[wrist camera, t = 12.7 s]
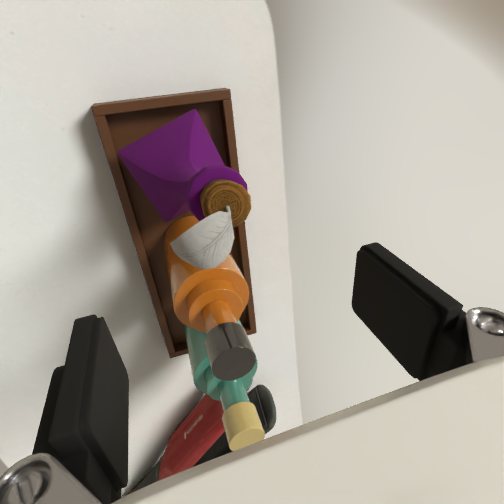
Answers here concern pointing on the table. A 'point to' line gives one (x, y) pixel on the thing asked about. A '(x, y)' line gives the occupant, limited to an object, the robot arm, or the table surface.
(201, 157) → the perfume bottle
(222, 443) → the hair straightener
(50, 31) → the table surface
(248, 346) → the amber bottle
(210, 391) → the sea-green bottle
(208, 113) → the tray
